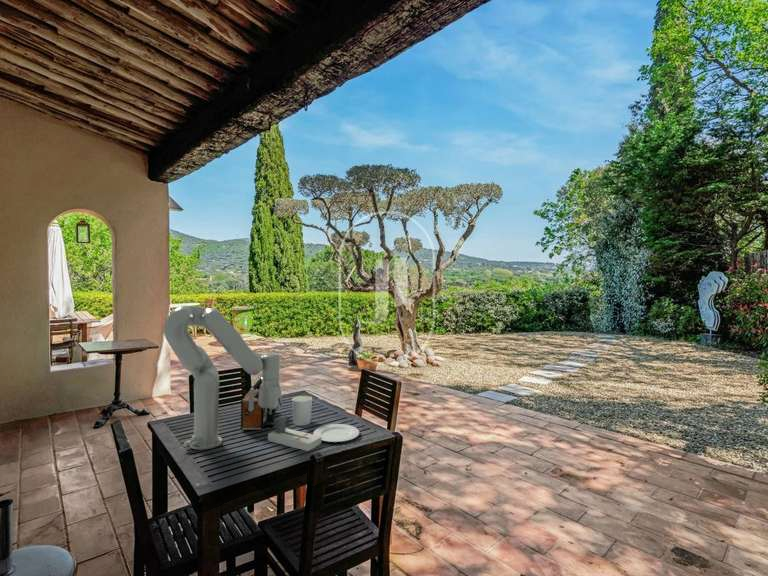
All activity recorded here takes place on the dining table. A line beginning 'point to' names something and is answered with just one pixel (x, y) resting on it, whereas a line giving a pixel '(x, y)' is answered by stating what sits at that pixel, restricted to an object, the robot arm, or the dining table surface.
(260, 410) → the radio cassette player
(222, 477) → the dining table surface
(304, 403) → the candle holder
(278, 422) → the fader knob
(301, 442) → the fader console
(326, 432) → the plate
